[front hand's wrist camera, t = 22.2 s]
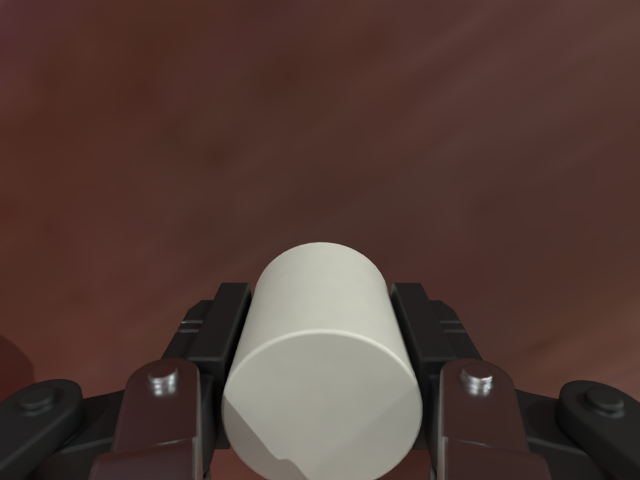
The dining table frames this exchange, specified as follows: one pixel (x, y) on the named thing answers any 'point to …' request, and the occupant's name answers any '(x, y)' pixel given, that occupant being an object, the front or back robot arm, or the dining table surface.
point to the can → (321, 372)
